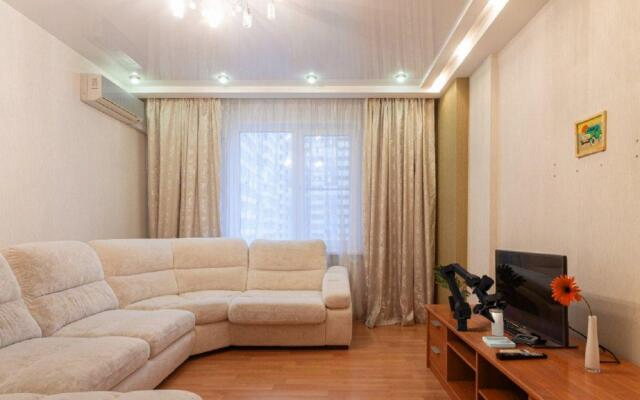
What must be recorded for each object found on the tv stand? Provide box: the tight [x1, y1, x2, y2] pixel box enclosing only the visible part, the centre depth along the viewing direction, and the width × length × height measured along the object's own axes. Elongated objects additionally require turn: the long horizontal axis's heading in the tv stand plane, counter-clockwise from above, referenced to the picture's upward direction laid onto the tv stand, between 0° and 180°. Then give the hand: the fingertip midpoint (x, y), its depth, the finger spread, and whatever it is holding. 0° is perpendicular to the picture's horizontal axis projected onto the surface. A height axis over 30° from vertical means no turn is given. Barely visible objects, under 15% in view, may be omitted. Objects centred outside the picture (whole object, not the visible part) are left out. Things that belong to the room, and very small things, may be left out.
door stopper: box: [503, 320, 520, 329], centre depth 230 cm, size 9×6×12 cm, turn 169°
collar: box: [511, 333, 539, 345], centre depth 200 cm, size 9×9×2 cm
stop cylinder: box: [490, 309, 505, 337], centre depth 197 cm, size 6×6×12 cm
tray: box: [482, 336, 516, 349], centre depth 197 cm, size 12×12×2 cm
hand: (499, 322), depth 196 cm, fingers closed on stop cylinder, 5 cm apart
